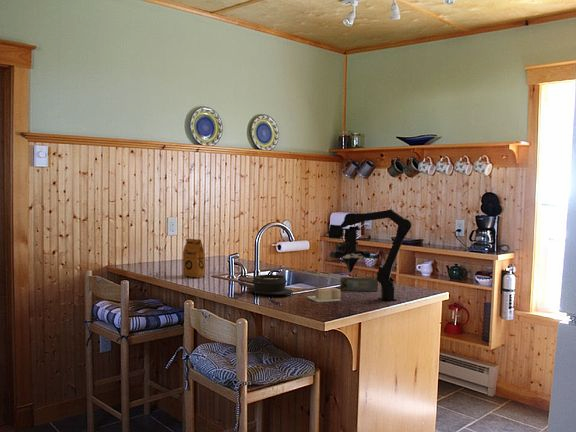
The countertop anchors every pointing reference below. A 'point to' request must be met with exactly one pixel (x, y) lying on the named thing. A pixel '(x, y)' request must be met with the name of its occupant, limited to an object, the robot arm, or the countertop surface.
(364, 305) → the countertop surface
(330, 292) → the beige bevelled block
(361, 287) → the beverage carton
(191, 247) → the coffee package
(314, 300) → the mat
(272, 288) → the casserole
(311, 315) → the countertop surface
